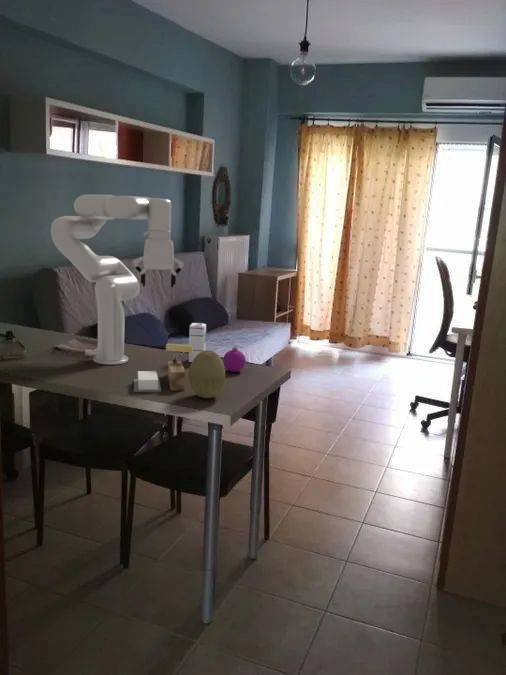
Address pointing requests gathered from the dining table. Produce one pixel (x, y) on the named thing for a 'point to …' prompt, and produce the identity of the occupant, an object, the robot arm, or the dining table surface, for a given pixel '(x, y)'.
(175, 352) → the golden rectangular block
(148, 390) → the mat
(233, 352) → the christmas ornament
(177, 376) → the housing
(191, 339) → the syrup box
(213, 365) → the fruit
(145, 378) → the cover
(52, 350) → the dining table surface
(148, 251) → the robot arm
